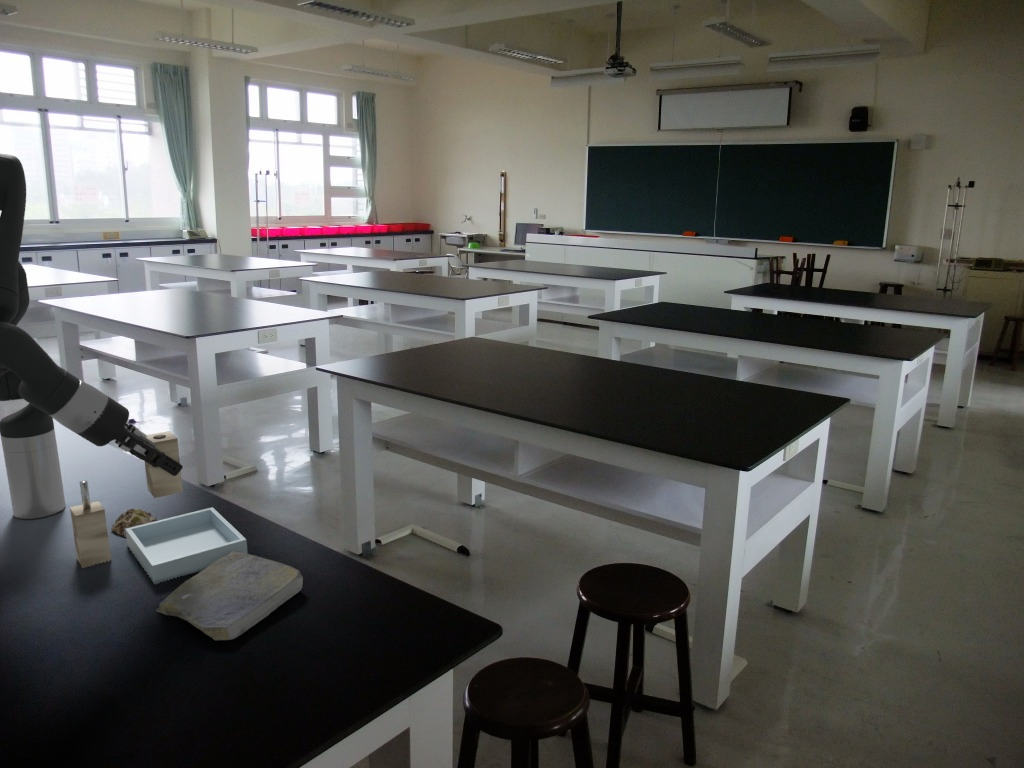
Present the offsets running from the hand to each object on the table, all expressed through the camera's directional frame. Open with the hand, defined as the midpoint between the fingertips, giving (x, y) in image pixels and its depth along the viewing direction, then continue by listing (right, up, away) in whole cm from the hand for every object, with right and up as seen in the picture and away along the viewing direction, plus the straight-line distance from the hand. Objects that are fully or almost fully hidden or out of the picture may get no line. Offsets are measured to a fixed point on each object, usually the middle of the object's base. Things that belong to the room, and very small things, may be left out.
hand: (174, 466), depth 133 cm
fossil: (+13, -22, -10) cm, 27 cm away
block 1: (-16, -17, +3) cm, 24 cm away
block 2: (-2, -4, 0) cm, 5 cm away
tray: (-1, -16, +7) cm, 18 cm away
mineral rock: (-15, -14, +16) cm, 26 cm away
